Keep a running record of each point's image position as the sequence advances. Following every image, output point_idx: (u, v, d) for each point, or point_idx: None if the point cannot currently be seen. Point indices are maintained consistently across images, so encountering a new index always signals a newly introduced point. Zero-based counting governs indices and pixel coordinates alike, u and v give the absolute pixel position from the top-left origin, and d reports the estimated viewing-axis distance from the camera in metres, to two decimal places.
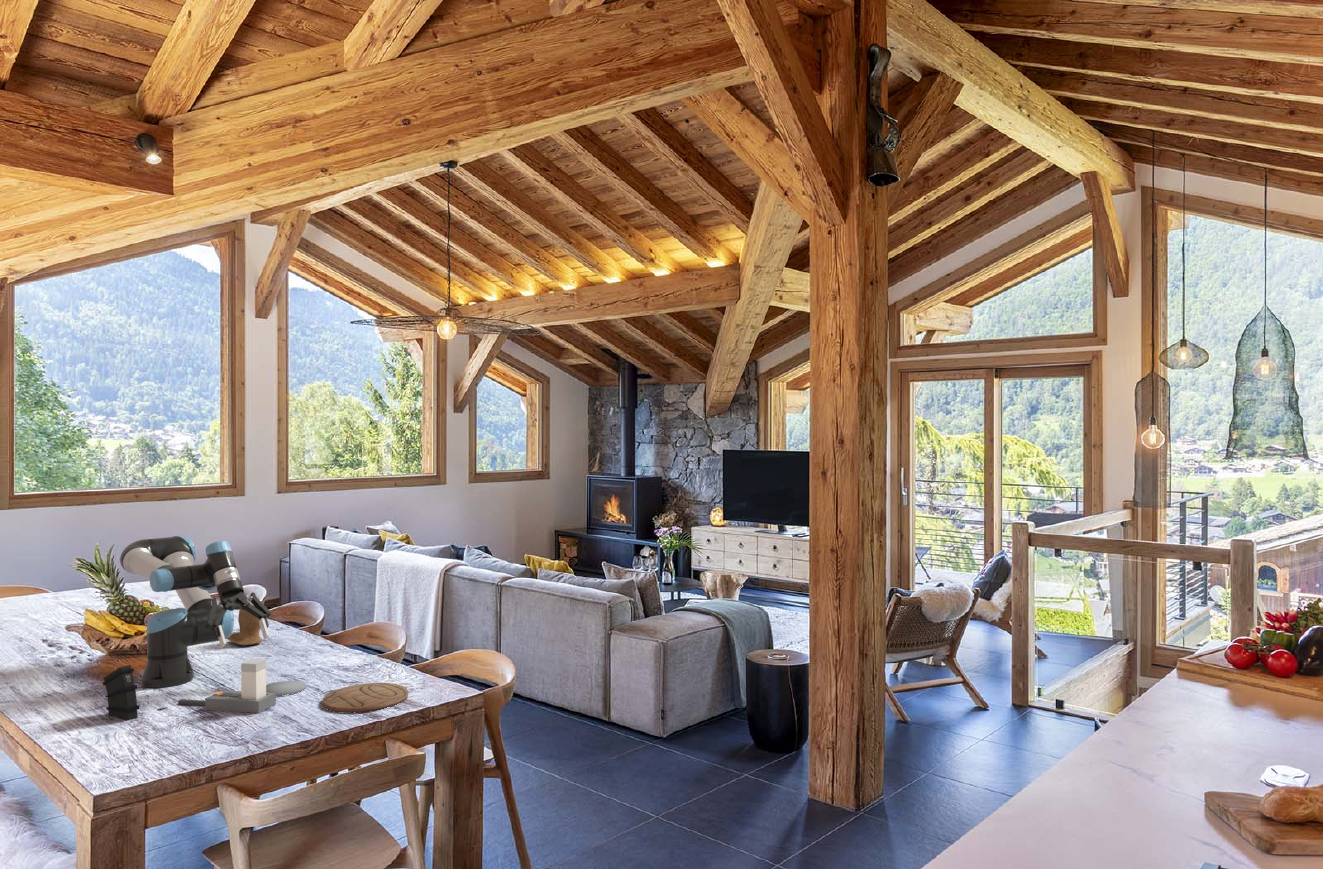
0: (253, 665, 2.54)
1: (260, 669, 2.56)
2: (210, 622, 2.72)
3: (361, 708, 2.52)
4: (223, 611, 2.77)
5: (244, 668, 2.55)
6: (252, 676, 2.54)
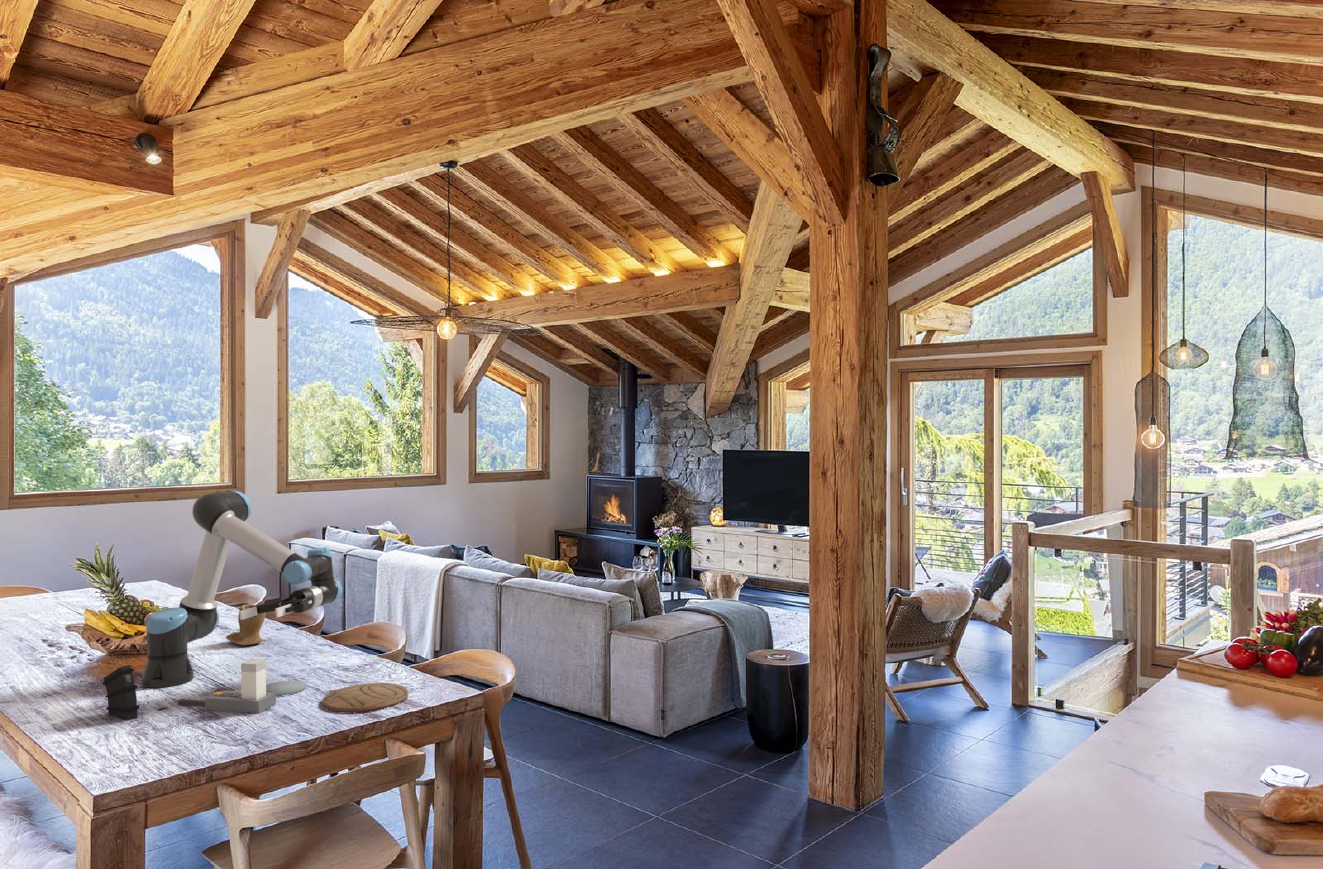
0: (253, 665, 2.54)
1: (260, 669, 2.56)
2: None
3: (361, 708, 2.52)
4: None
5: (244, 668, 2.55)
6: (252, 676, 2.54)
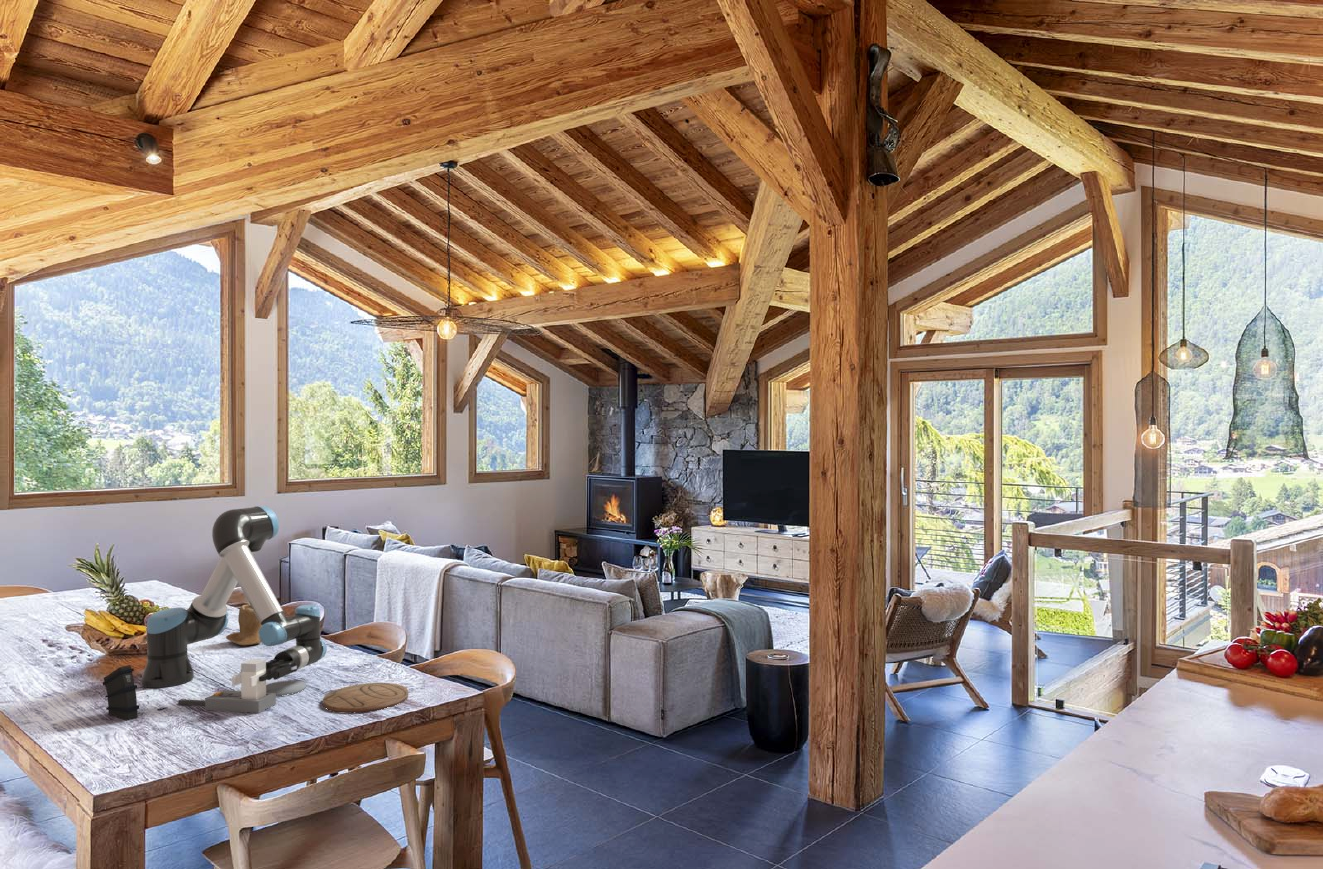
0: (253, 665, 2.54)
1: (260, 669, 2.56)
2: None
3: (362, 708, 2.52)
4: None
5: (244, 668, 2.55)
6: None
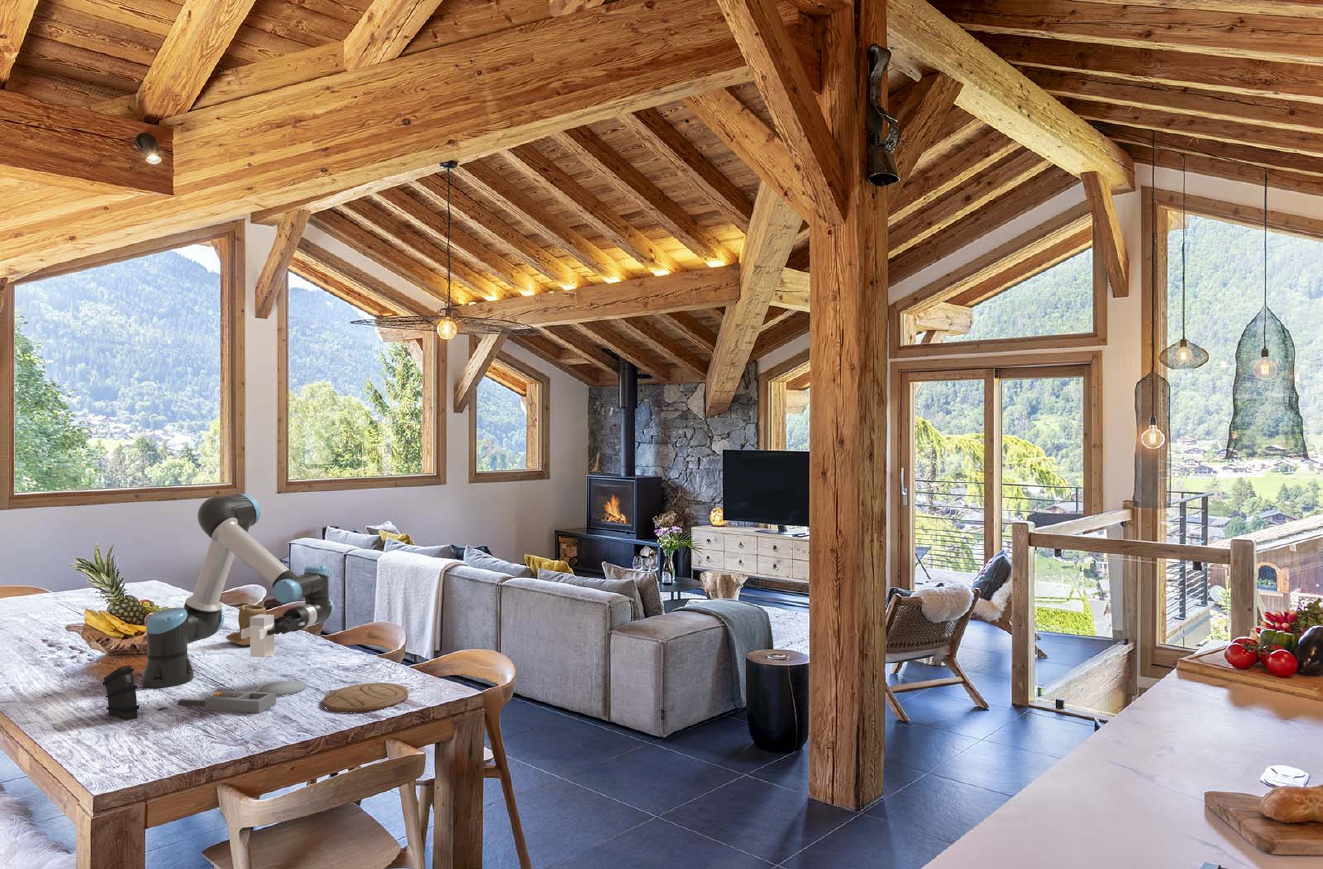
0: (261, 619, 2.59)
1: (268, 623, 2.61)
2: None
3: (362, 708, 2.52)
4: None
5: (252, 622, 2.60)
6: None
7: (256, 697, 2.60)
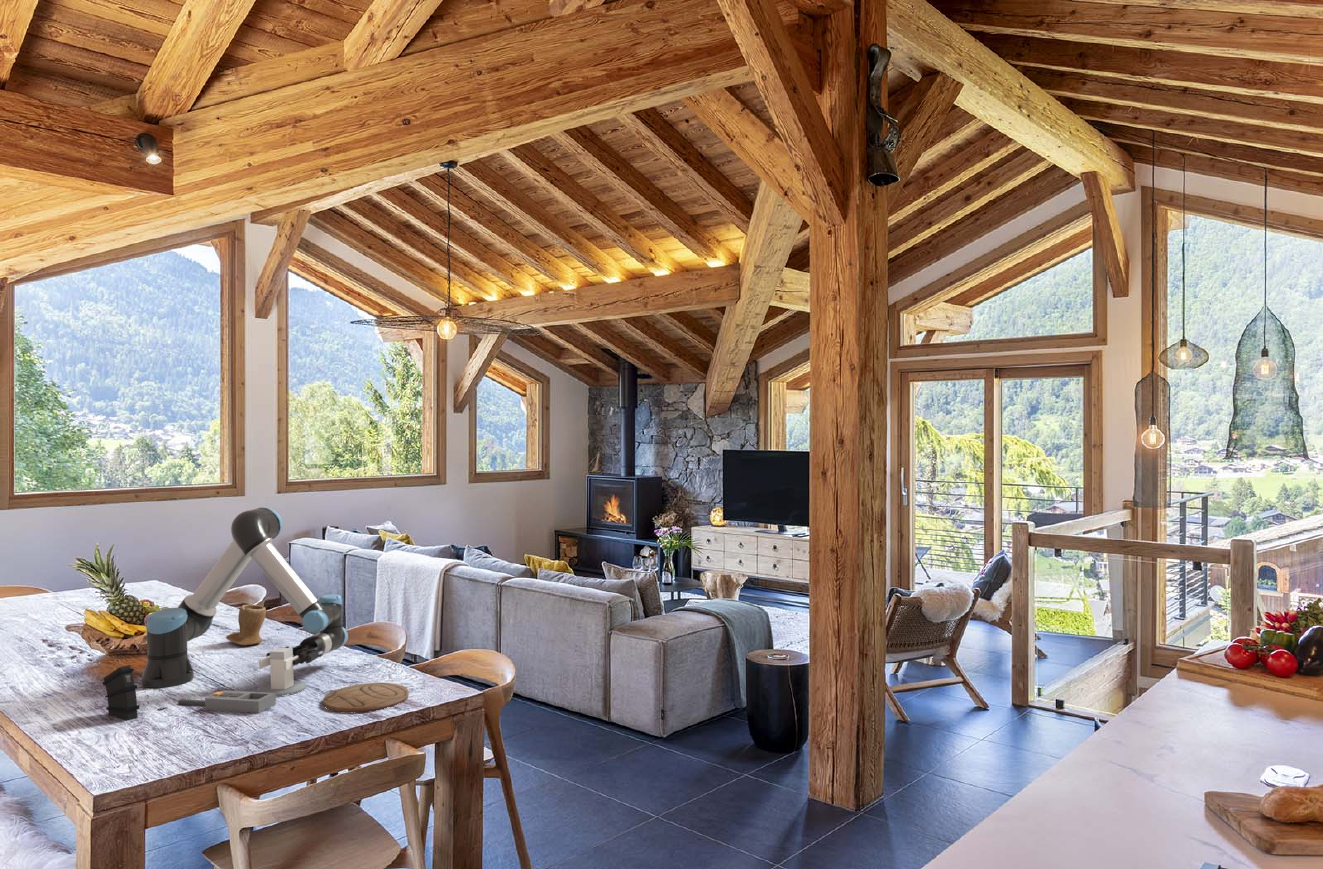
0: (281, 653, 2.72)
1: (287, 657, 2.73)
2: None
3: (362, 708, 2.52)
4: None
5: (272, 656, 2.72)
6: (281, 663, 2.72)
7: (256, 697, 2.60)
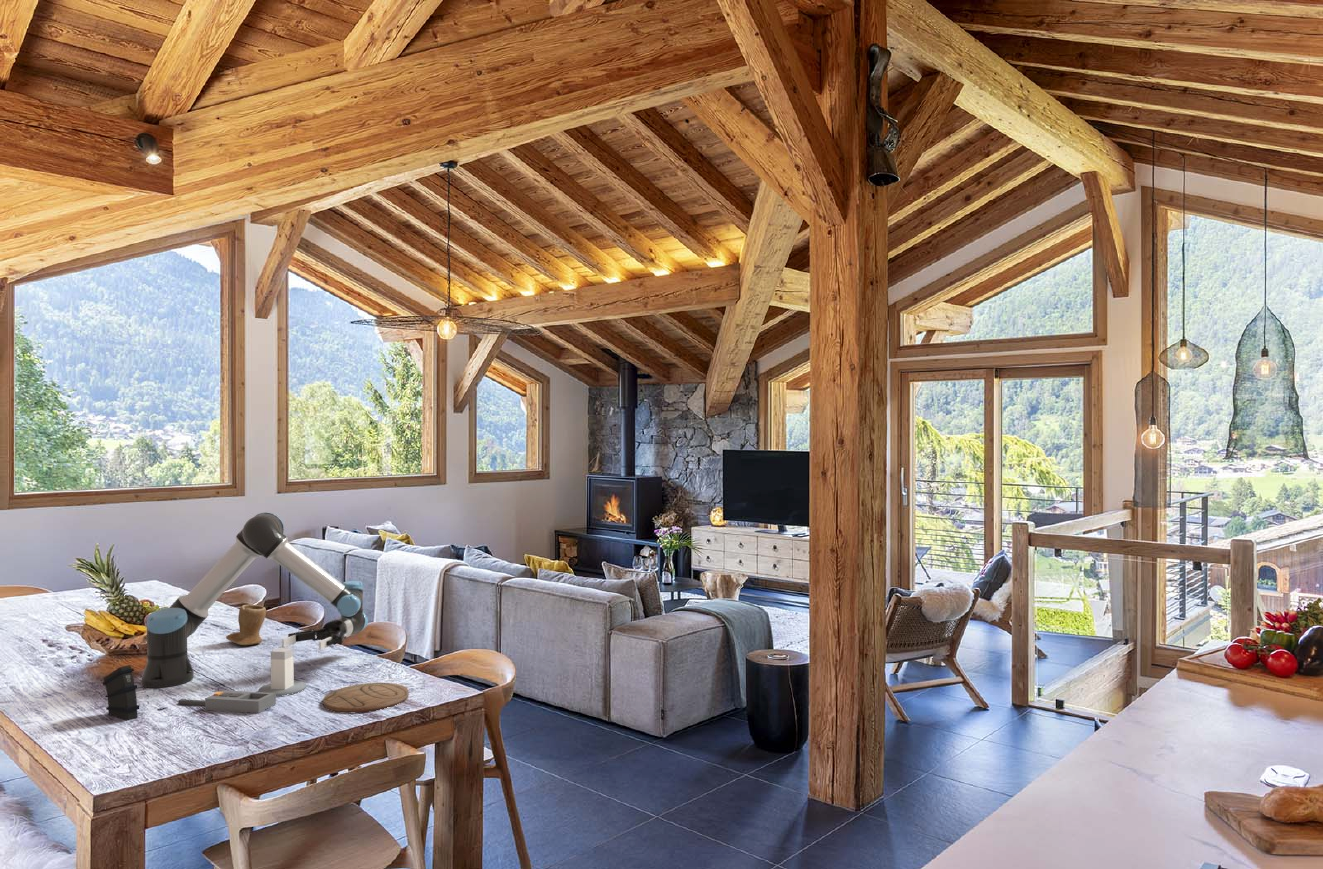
0: (282, 653, 2.72)
1: (288, 657, 2.74)
2: None
3: (362, 708, 2.52)
4: None
5: (273, 656, 2.72)
6: (281, 663, 2.72)
7: (256, 697, 2.60)
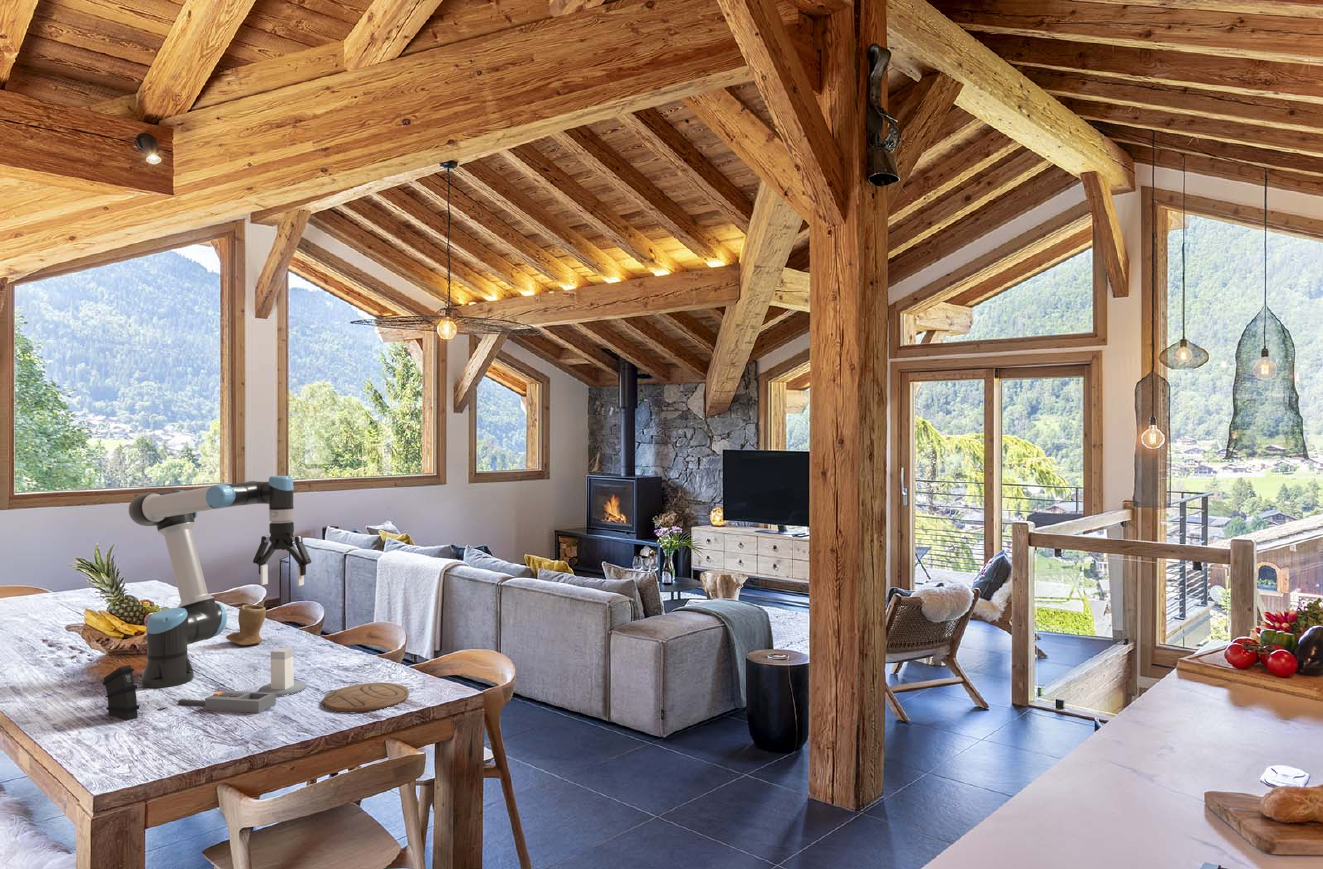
0: (282, 653, 2.72)
1: (288, 657, 2.74)
2: (255, 560, 2.87)
3: (362, 708, 2.52)
4: (267, 551, 2.86)
5: (273, 656, 2.72)
6: (281, 663, 2.72)
7: (256, 697, 2.60)
